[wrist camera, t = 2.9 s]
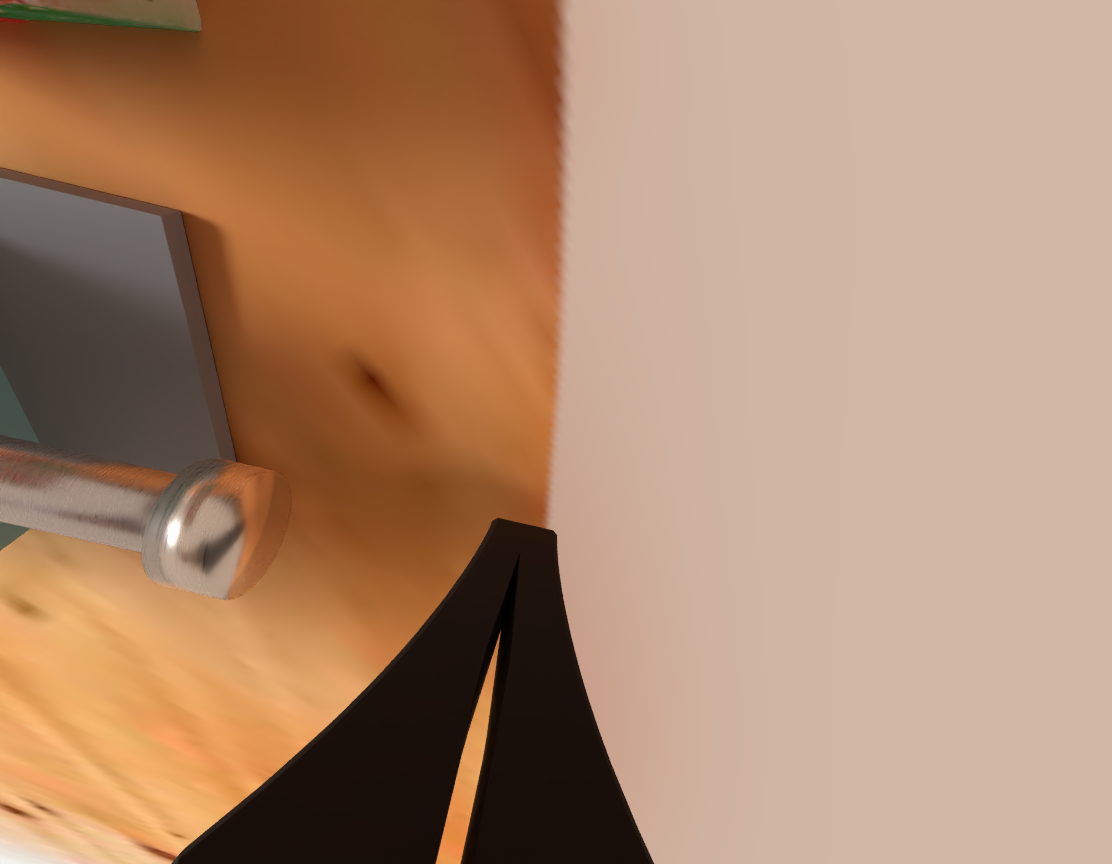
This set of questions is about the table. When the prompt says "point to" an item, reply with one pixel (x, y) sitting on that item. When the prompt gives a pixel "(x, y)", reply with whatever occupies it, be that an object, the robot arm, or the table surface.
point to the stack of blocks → (107, 12)
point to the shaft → (153, 512)
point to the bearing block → (103, 330)
